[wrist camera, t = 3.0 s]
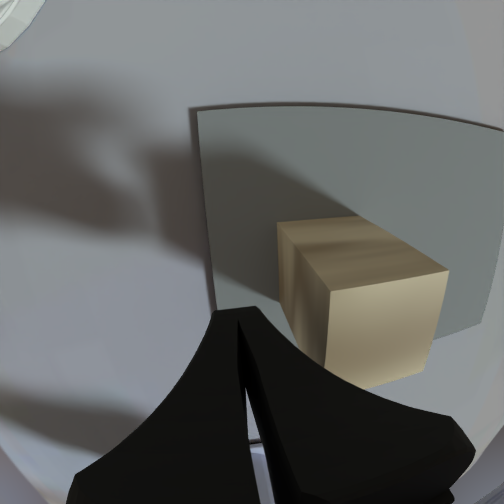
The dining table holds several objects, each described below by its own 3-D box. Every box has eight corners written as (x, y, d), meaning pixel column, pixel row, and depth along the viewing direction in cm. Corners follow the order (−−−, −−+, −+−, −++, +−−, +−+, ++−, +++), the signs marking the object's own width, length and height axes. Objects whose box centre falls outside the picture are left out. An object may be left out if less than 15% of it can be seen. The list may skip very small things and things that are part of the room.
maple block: (354, 291, 15) (422, 371, 9) (279, 302, 15) (320, 400, 9) (359, 215, 14) (449, 270, 8) (276, 222, 14) (330, 291, 7)
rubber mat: (477, 320, 19) (480, 323, 18) (227, 379, 17) (228, 383, 16) (505, 133, 14) (509, 133, 13) (197, 112, 12) (197, 111, 11)
